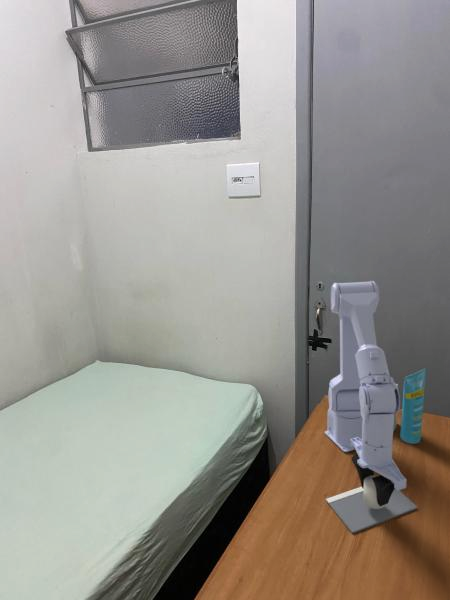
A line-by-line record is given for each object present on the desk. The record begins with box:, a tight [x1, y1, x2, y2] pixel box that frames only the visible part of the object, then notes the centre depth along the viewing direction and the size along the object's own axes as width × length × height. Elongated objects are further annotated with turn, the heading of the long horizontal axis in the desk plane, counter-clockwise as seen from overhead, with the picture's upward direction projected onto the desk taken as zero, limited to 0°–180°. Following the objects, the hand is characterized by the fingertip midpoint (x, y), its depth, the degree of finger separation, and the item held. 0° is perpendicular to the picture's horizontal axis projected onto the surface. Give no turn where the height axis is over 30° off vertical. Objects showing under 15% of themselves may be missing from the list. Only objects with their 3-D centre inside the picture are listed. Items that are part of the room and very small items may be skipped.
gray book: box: [325, 485, 418, 534], centre depth 87 cm, size 10×16×1 cm, turn 109°
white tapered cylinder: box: [363, 475, 385, 509], centre depth 84 cm, size 4×4×4 cm
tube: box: [399, 367, 426, 445], centre depth 104 cm, size 7×5×19 cm, turn 123°
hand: (374, 495), depth 85 cm, fingers closed on white tapered cylinder, 4 cm apart
